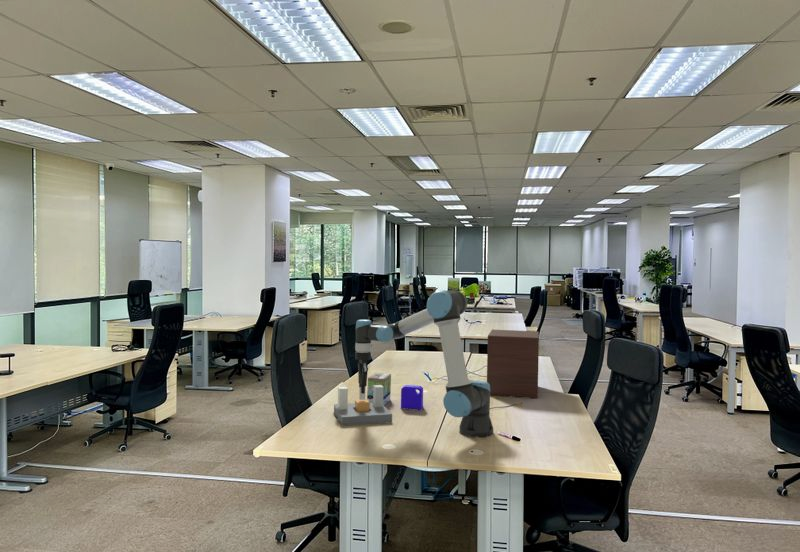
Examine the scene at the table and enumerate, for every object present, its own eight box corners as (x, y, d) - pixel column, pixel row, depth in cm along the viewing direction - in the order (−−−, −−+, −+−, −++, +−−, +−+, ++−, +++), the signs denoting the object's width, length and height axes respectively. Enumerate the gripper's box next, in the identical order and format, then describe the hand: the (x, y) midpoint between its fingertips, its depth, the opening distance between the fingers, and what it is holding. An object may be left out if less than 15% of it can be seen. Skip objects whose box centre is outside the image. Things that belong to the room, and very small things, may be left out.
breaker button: (369, 412, 257) (369, 402, 257) (357, 413, 256) (357, 402, 256) (366, 409, 263) (367, 399, 263) (354, 409, 261) (355, 399, 261)
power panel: (392, 422, 251) (392, 414, 251) (341, 425, 245) (341, 417, 244) (380, 409, 274) (380, 401, 274) (333, 412, 268) (334, 404, 268)
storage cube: (537, 399, 303) (538, 337, 303) (486, 395, 310) (487, 335, 310) (537, 386, 337) (538, 331, 337) (491, 383, 344) (492, 329, 344)
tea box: (384, 406, 281) (385, 378, 281) (366, 405, 283) (366, 377, 283) (390, 399, 296) (391, 373, 296) (373, 398, 298) (373, 372, 298)
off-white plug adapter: (347, 409, 259) (347, 388, 259) (339, 409, 258) (339, 389, 258) (345, 406, 264) (346, 386, 264) (337, 406, 263) (338, 386, 262)
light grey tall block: (383, 407, 264) (383, 387, 264) (375, 407, 263) (375, 387, 263) (380, 404, 269) (381, 384, 268) (373, 405, 267) (373, 385, 267)
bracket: (421, 410, 274) (421, 387, 274) (400, 408, 277) (401, 386, 277) (427, 402, 292) (427, 380, 292) (407, 400, 294) (408, 379, 294)
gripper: (373, 353, 254) (372, 402, 254) (367, 349, 266) (366, 396, 267) (358, 353, 252) (357, 403, 252) (353, 349, 264) (352, 396, 265)
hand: (362, 399), depth 259 cm, fingers closed
